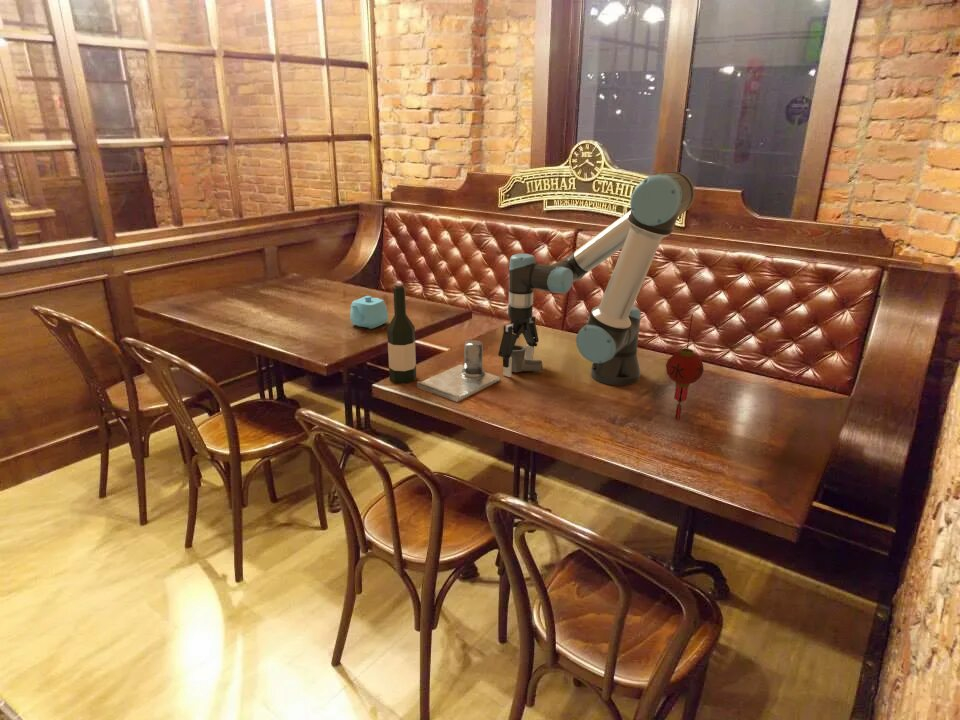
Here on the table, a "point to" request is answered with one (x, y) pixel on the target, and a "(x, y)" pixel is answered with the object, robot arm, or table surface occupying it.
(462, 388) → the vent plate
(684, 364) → the lantern
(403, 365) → the wine bottle
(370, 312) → the teapot
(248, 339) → the table surface
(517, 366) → the pipe
